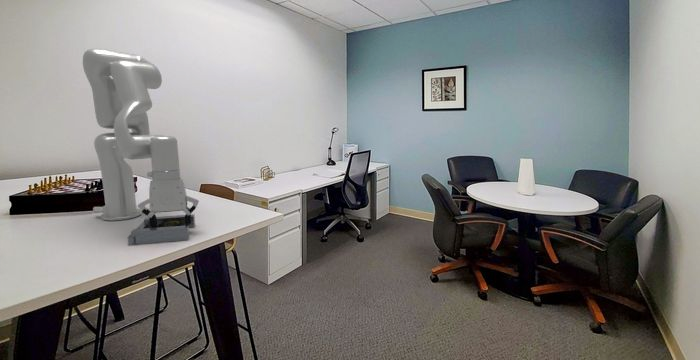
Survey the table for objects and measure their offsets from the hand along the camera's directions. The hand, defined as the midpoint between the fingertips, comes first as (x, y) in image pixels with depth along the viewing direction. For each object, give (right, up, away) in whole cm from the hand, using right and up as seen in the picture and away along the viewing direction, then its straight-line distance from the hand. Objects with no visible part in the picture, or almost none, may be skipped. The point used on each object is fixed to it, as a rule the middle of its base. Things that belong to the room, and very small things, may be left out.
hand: (171, 227), depth 105 cm
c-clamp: (-3, -2, +1) cm, 4 cm away
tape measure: (-1, -3, 0) cm, 3 cm away
